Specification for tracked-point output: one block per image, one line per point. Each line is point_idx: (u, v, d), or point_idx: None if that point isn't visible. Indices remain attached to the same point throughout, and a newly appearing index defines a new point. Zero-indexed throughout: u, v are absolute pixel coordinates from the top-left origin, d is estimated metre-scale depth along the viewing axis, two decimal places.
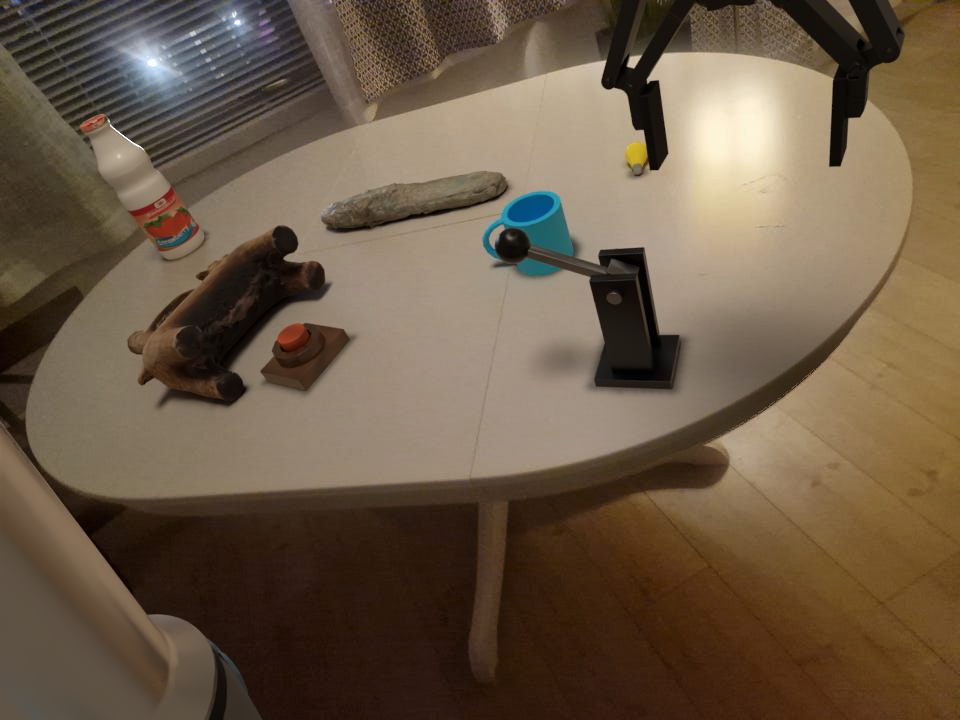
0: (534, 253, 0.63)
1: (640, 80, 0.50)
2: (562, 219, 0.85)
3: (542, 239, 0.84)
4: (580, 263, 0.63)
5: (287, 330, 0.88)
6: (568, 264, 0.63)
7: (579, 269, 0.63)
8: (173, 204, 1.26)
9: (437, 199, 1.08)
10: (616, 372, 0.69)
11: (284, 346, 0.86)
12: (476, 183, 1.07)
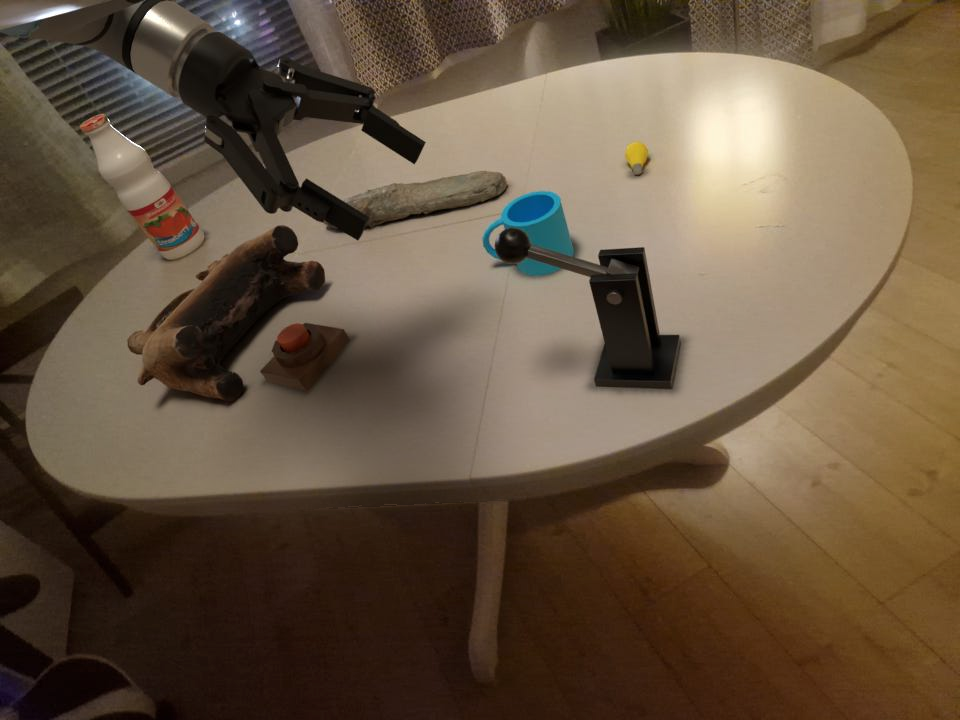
0: (534, 253, 0.63)
1: (291, 174, 0.58)
2: (562, 219, 0.85)
3: (542, 239, 0.84)
4: (580, 263, 0.63)
5: (287, 330, 0.88)
6: (568, 264, 0.63)
7: (579, 269, 0.63)
8: (173, 204, 1.26)
9: (437, 199, 1.08)
10: (616, 372, 0.69)
11: (284, 346, 0.86)
12: (476, 183, 1.07)
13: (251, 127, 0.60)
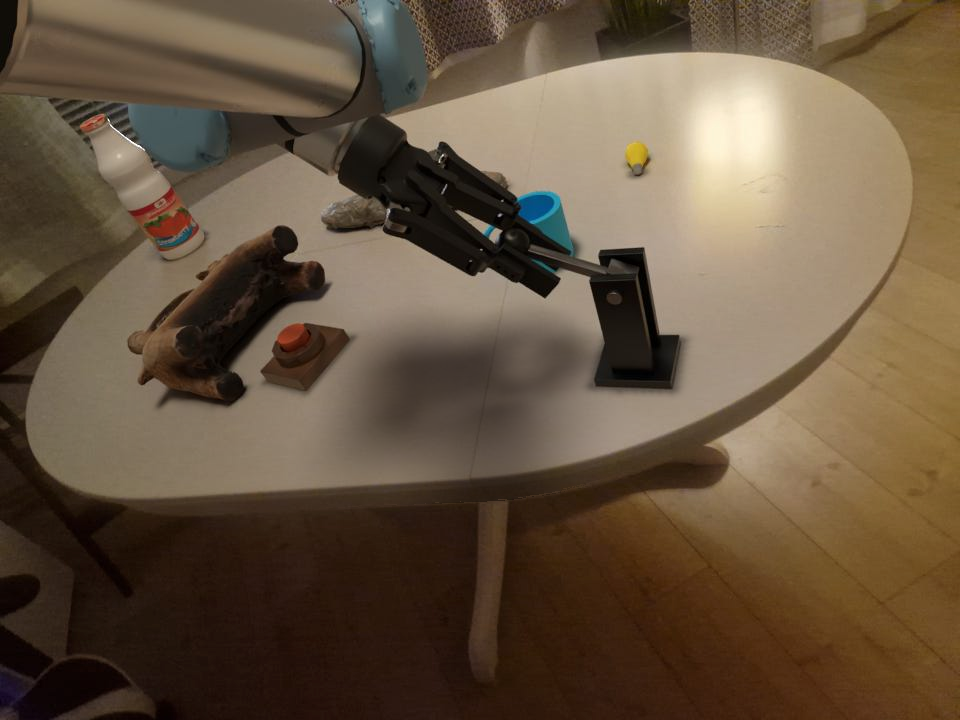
0: (534, 253, 0.63)
1: (487, 239, 0.61)
2: (562, 219, 0.85)
3: None
4: (580, 263, 0.63)
5: (287, 330, 0.88)
6: (568, 264, 0.63)
7: (579, 269, 0.63)
8: (173, 204, 1.26)
9: None
10: (616, 372, 0.69)
11: (284, 346, 0.86)
12: None
13: (408, 206, 0.61)
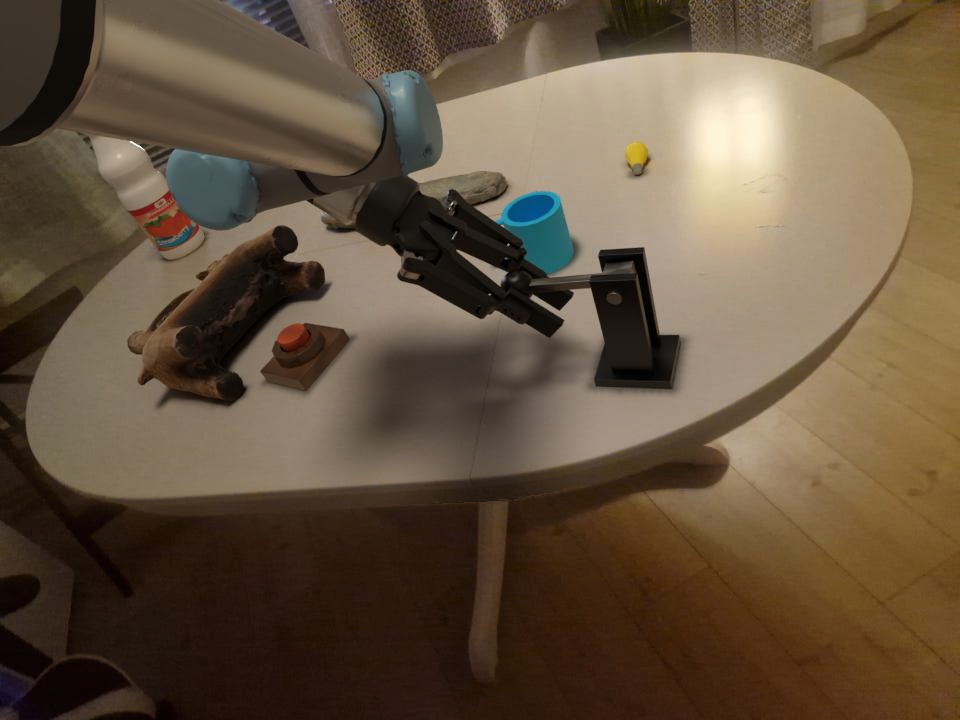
0: (535, 285, 0.67)
1: (495, 284, 0.65)
2: (562, 219, 0.85)
3: (542, 239, 0.84)
4: (578, 278, 0.64)
5: (287, 330, 0.88)
6: (567, 284, 0.65)
7: (579, 284, 0.64)
8: (173, 204, 1.26)
9: None
10: (616, 372, 0.69)
11: (284, 346, 0.86)
12: (476, 183, 1.07)
13: (421, 254, 0.65)
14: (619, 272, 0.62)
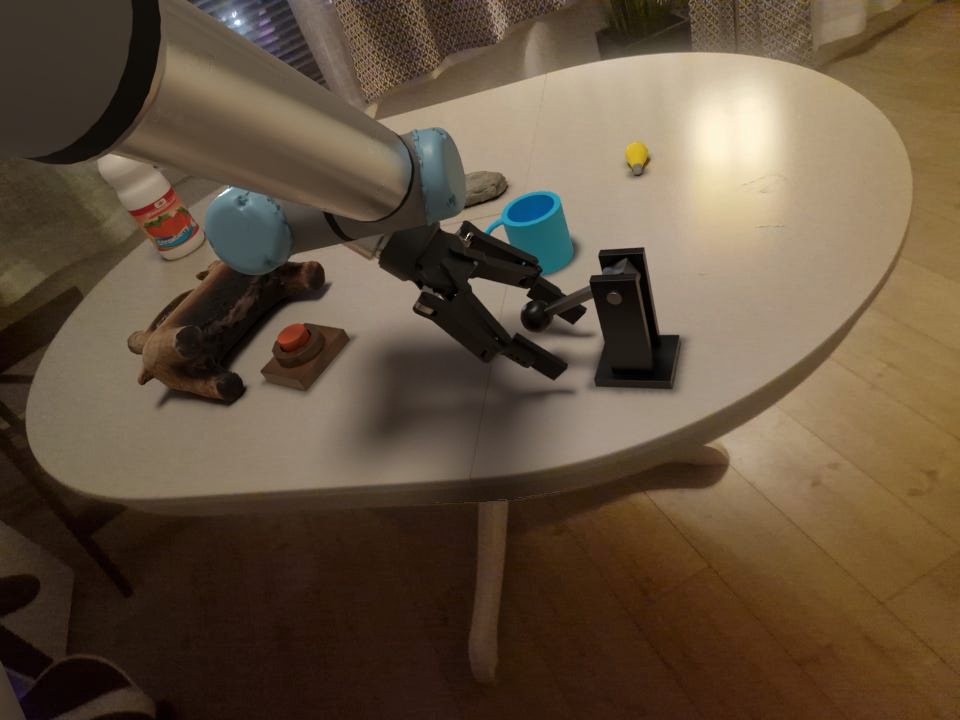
0: (549, 310, 0.68)
1: (502, 329, 0.67)
2: (562, 219, 0.85)
3: (542, 239, 0.84)
4: (583, 291, 0.65)
5: (287, 330, 0.88)
6: (575, 298, 0.66)
7: (585, 296, 0.65)
8: (173, 204, 1.26)
9: None
10: (616, 372, 0.69)
11: (284, 346, 0.86)
12: (476, 183, 1.07)
13: (442, 289, 0.68)
14: (614, 272, 0.62)
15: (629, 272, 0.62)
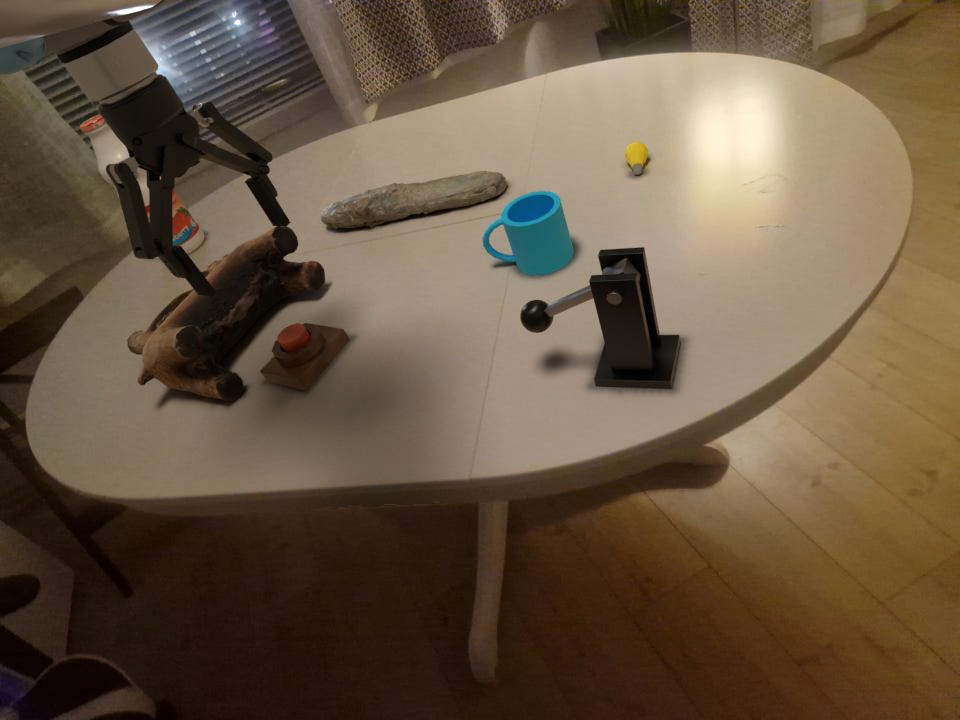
0: (549, 310, 0.68)
1: (170, 239, 0.69)
2: (562, 219, 0.85)
3: (542, 239, 0.84)
4: (583, 291, 0.65)
5: (287, 330, 0.88)
6: (575, 298, 0.66)
7: (585, 296, 0.65)
8: (173, 204, 1.26)
9: (437, 199, 1.08)
10: (616, 372, 0.69)
11: (284, 346, 0.86)
12: (476, 183, 1.07)
13: None
14: (614, 272, 0.62)
15: (629, 272, 0.62)
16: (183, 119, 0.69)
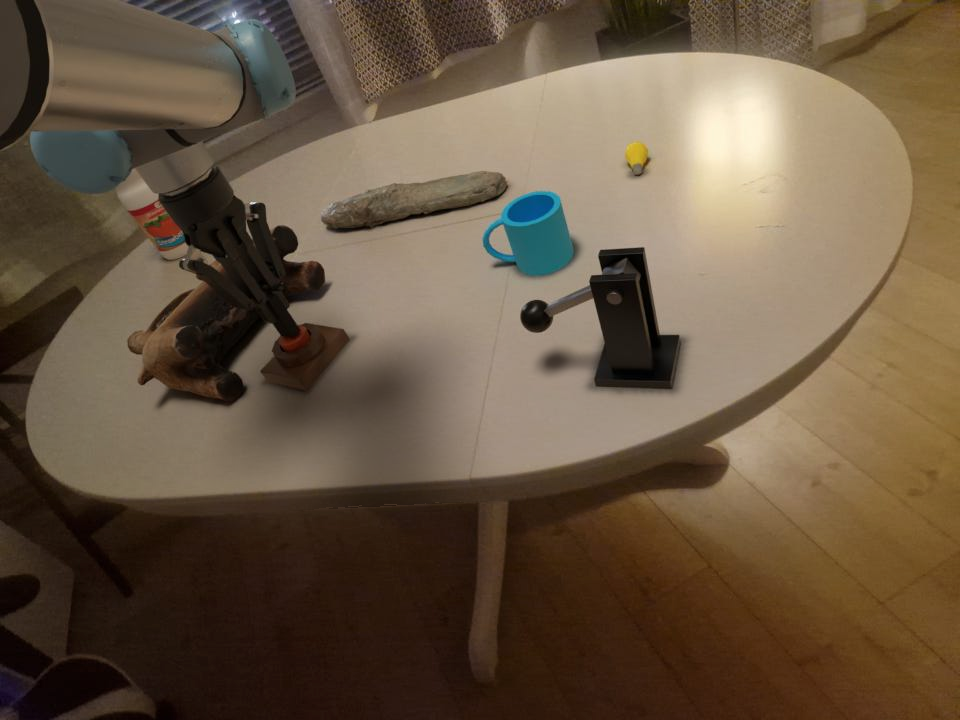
0: (549, 310, 0.68)
1: (260, 292, 0.81)
2: (562, 219, 0.85)
3: (542, 239, 0.84)
4: (583, 291, 0.65)
5: None
6: (575, 298, 0.66)
7: (585, 296, 0.65)
8: None
9: (437, 199, 1.08)
10: (616, 372, 0.69)
11: (285, 348, 0.87)
12: (476, 183, 1.07)
13: None
14: (614, 272, 0.62)
15: (629, 272, 0.62)
16: (232, 203, 0.76)
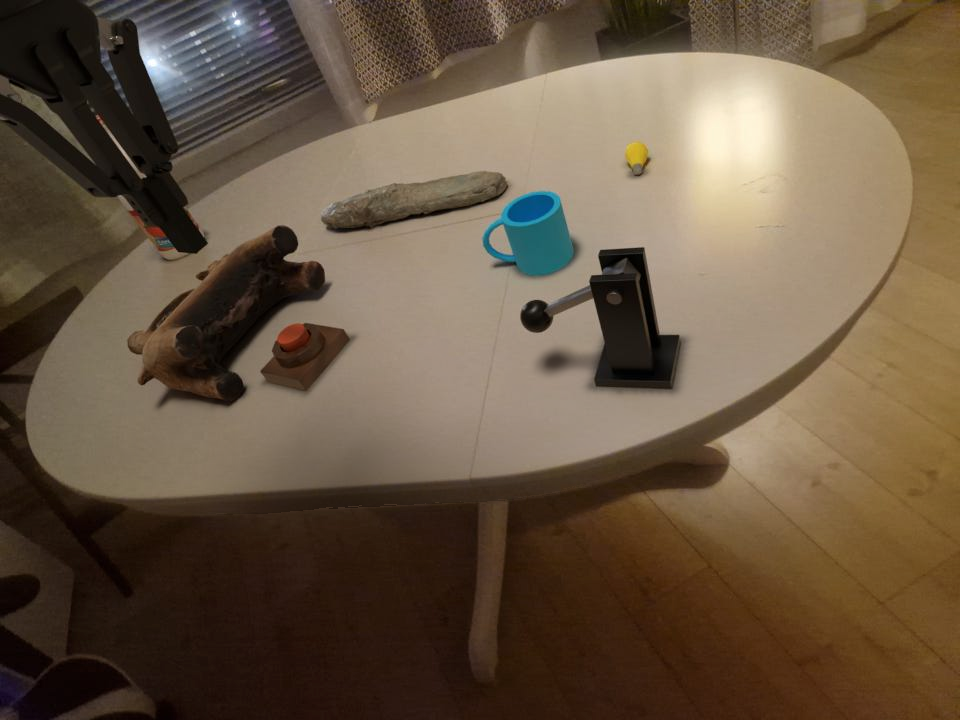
0: (549, 310, 0.68)
1: (130, 170, 0.50)
2: (562, 219, 0.85)
3: (542, 239, 0.84)
4: (583, 291, 0.65)
5: (287, 330, 0.88)
6: (575, 298, 0.66)
7: (585, 296, 0.65)
8: None
9: (437, 199, 1.08)
10: (616, 372, 0.69)
11: (284, 346, 0.86)
12: (476, 183, 1.07)
13: None
14: (614, 272, 0.62)
15: (629, 272, 0.62)
16: (70, 7, 0.45)
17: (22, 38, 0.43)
